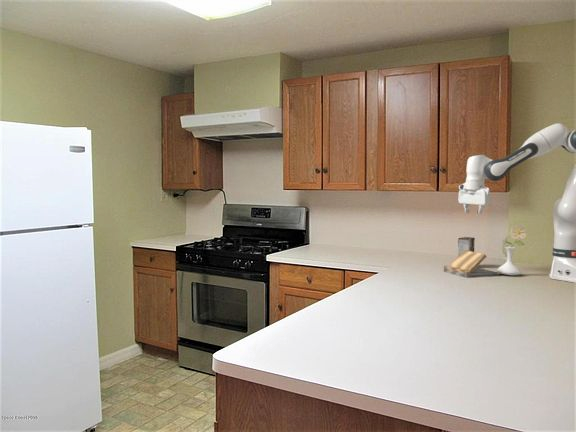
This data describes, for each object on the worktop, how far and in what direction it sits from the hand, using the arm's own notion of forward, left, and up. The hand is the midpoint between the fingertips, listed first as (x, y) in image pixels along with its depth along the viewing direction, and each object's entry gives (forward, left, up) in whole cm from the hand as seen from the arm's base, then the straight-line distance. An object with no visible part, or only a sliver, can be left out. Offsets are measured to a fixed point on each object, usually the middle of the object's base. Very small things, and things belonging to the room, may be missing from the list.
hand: (473, 213), depth 242 cm
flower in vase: (-12, -14, -31) cm, 36 cm away
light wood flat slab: (-3, +5, -25) cm, 25 cm away
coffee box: (+15, -9, -31) cm, 35 cm away
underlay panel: (-3, +3, -30) cm, 31 cm away
